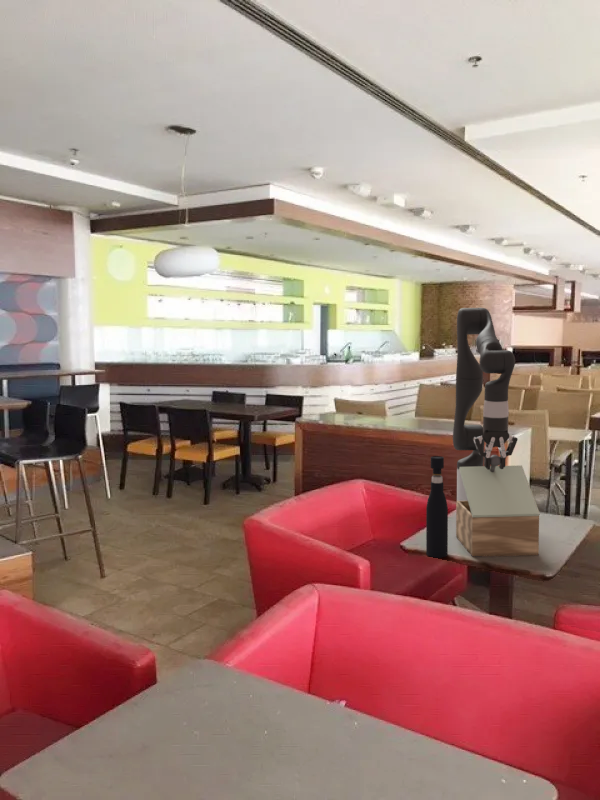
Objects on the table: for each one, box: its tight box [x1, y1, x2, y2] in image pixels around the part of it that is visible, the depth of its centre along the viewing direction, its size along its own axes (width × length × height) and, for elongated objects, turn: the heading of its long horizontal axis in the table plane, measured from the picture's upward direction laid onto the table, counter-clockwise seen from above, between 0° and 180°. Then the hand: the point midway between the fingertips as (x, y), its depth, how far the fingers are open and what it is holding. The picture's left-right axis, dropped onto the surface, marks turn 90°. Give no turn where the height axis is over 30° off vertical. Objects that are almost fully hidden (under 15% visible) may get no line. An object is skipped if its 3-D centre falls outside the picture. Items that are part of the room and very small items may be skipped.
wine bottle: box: [425, 455, 449, 559], centre depth 209 cm, size 6×6×30 cm
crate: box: [455, 500, 540, 557], centre depth 217 cm, size 20×20×12 cm
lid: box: [459, 454, 541, 517], centre depth 212 cm, size 20×20×7 cm
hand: (494, 468), depth 217 cm, fingers closed on lid, 3 cm apart
